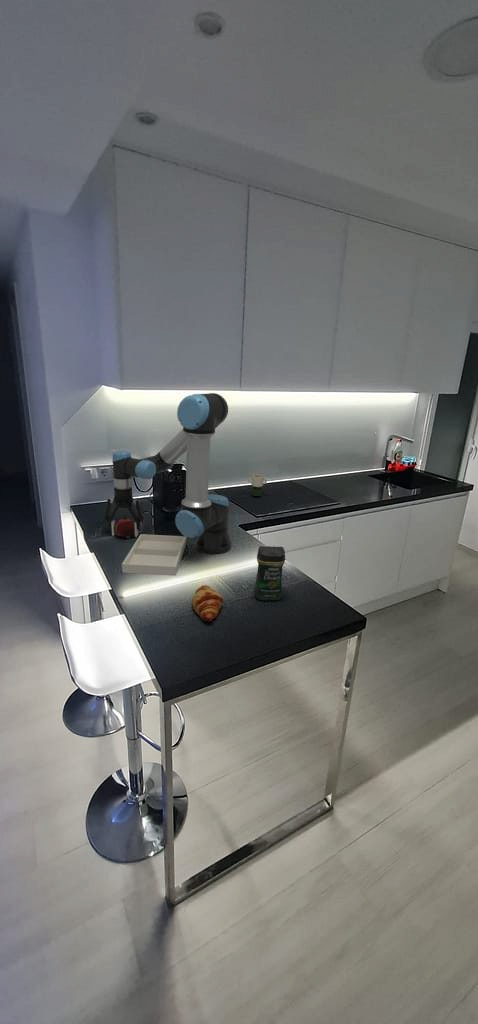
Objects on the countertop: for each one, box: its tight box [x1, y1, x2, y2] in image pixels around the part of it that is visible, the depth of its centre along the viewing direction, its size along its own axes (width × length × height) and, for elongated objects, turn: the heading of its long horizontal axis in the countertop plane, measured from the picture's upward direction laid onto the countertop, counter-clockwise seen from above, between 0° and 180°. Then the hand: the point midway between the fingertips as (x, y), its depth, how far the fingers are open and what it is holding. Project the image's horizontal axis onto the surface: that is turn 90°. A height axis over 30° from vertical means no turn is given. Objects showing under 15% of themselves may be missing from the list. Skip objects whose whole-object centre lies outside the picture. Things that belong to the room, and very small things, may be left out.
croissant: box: [191, 584, 224, 622], centre depth 139 cm, size 21×10×8 cm, turn 9°
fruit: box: [114, 514, 135, 539], centre depth 189 cm, size 9×10×10 cm
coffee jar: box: [253, 545, 286, 602], centre depth 145 cm, size 10×8×19 cm
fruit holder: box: [121, 533, 187, 576], centre depth 172 cm, size 20×29×4 cm
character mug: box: [247, 473, 268, 497], centre depth 255 cm, size 11×7×13 cm, turn 92°
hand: (125, 535), depth 190 cm, fingers closed on fruit, 9 cm apart
